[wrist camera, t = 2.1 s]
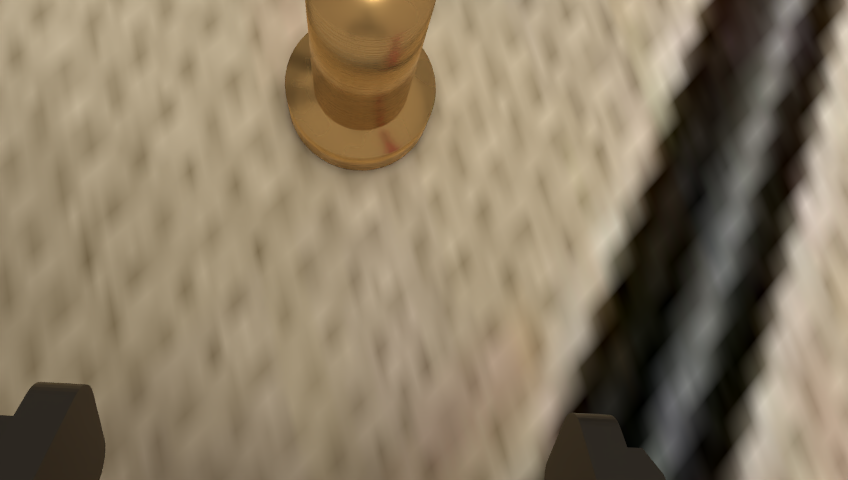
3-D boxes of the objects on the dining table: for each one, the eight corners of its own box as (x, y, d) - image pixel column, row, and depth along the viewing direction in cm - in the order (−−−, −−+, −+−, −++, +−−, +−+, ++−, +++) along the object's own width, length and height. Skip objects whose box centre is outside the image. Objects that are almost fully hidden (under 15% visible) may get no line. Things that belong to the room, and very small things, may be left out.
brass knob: (282, 163, 26) (249, 61, 17) (296, 29, 27) (273, -142, 18) (424, 176, 27) (472, 87, 17) (433, 46, 28) (483, -109, 18)
